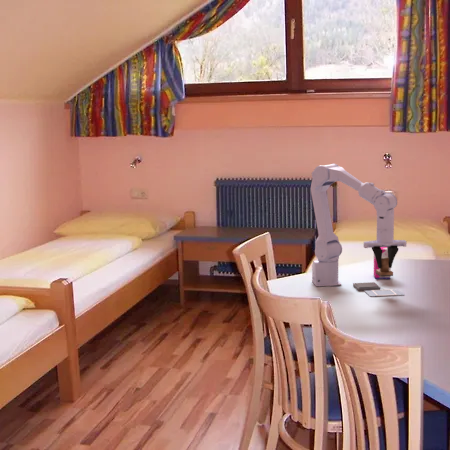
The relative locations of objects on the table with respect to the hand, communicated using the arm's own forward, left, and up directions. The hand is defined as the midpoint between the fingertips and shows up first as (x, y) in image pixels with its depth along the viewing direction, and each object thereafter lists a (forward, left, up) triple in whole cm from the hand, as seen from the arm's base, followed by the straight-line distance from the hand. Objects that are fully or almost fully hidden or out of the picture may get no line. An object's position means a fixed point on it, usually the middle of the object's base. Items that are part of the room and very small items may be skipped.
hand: (384, 267), depth 240 cm
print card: (0, 0, -9) cm, 9 cm away
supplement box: (+6, +23, -10) cm, 25 cm away
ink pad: (-4, +8, -9) cm, 13 cm away
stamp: (0, 0, -3) cm, 3 cm away
